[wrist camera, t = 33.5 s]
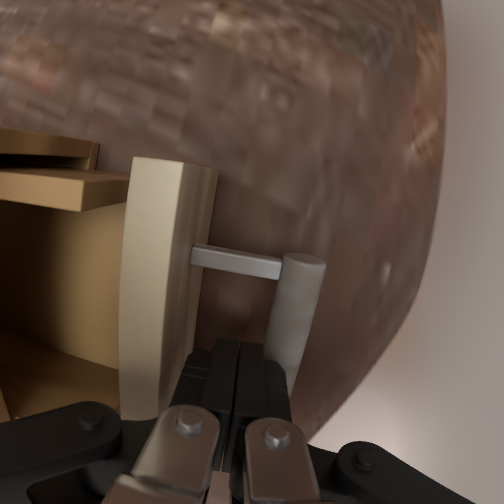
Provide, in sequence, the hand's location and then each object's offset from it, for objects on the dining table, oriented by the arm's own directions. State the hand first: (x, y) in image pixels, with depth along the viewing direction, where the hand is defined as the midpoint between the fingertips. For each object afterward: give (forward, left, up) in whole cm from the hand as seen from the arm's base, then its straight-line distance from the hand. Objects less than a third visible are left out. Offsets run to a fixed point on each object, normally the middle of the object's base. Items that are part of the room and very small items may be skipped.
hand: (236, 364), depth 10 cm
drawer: (+7, 0, -5) cm, 8 cm away
